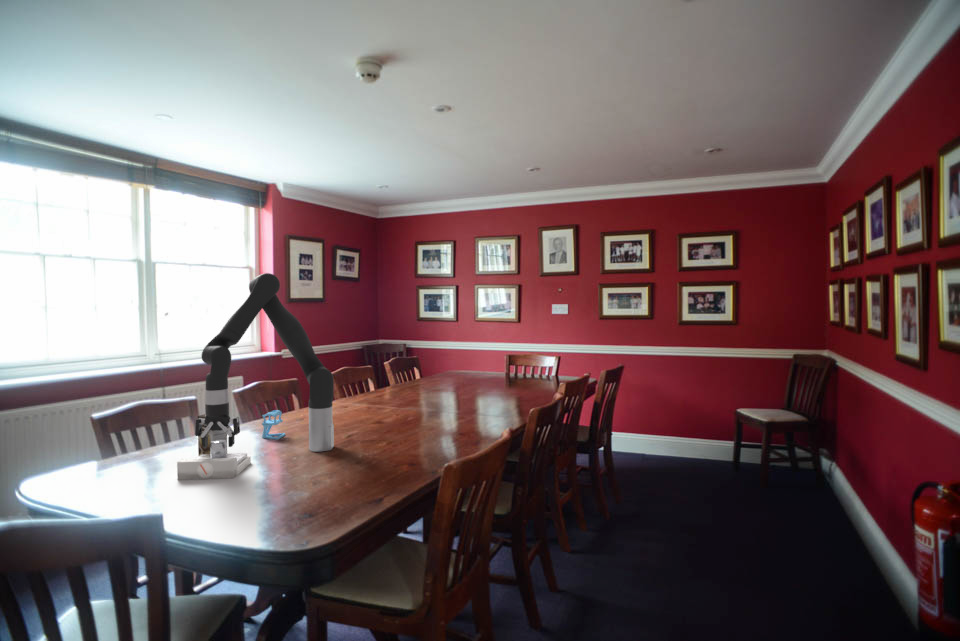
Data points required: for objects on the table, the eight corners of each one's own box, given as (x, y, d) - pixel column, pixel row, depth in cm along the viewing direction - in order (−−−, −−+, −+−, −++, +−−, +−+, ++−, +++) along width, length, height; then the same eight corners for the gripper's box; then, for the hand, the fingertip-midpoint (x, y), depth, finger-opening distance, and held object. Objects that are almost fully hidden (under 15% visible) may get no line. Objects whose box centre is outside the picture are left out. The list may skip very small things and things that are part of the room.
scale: (250, 462, 184) (250, 446, 184) (233, 478, 168) (232, 461, 168) (199, 464, 183) (199, 448, 182) (176, 480, 166) (176, 462, 166)
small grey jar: (228, 456, 180) (228, 439, 180) (222, 460, 175) (222, 443, 175) (214, 456, 180) (213, 439, 180) (208, 460, 175) (207, 443, 175)
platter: (247, 456, 184) (247, 453, 184) (235, 466, 173) (235, 462, 173) (201, 457, 182) (201, 454, 182) (187, 467, 171) (187, 464, 171)
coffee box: (197, 457, 191) (196, 415, 190) (213, 453, 197) (212, 412, 196) (212, 461, 187) (211, 418, 186) (228, 456, 192) (227, 414, 192)
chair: (267, 434, 224) (266, 408, 223) (285, 435, 224) (285, 408, 223) (259, 439, 216) (258, 412, 216) (278, 439, 216) (277, 412, 215)
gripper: (242, 399, 181) (242, 443, 182) (200, 400, 180) (201, 444, 180) (234, 403, 174) (235, 449, 174) (191, 404, 172) (192, 450, 173)
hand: (218, 446), depth 177 cm, fingers open, 8 cm apart
